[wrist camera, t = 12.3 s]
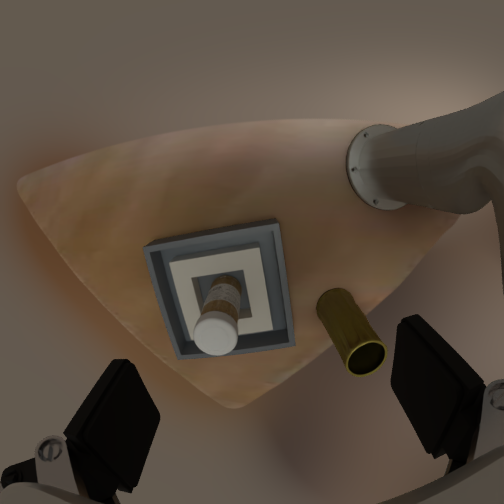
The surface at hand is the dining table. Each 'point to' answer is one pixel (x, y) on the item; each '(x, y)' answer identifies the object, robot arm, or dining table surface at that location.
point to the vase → (351, 333)
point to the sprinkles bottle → (219, 317)
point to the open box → (213, 239)
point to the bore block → (220, 262)
